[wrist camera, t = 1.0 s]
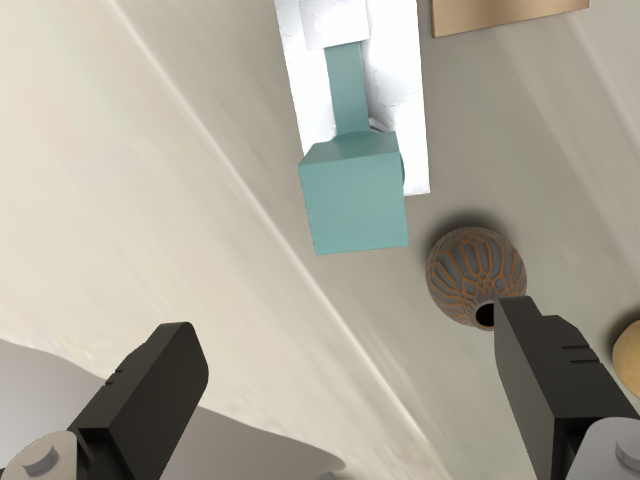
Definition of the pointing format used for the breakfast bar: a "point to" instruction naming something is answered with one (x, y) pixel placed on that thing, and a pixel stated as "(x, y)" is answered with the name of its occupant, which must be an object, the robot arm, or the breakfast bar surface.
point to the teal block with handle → (353, 170)
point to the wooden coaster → (492, 13)
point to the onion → (628, 358)
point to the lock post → (378, 71)
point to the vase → (474, 275)
